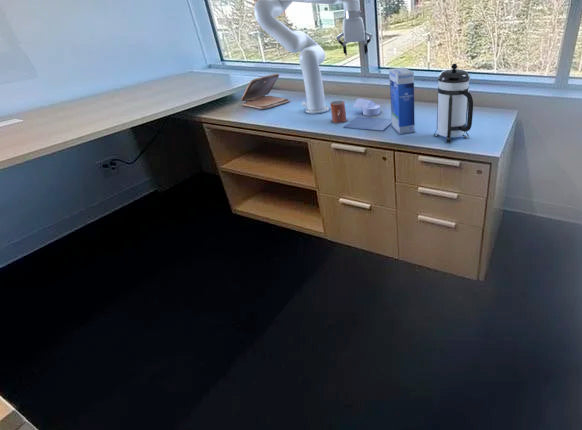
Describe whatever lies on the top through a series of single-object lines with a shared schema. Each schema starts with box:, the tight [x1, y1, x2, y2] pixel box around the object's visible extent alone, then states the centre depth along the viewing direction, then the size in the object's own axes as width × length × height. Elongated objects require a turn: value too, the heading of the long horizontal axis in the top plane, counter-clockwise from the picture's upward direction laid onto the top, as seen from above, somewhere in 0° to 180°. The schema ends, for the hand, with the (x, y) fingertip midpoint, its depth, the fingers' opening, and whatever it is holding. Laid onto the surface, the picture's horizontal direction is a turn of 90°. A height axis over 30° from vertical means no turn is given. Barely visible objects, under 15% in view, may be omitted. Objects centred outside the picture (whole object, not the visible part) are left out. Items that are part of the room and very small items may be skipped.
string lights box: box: [388, 66, 416, 135], centre depth 168 cm, size 13×8×26 cm, turn 17°
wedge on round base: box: [352, 97, 381, 117], centre depth 197 cm, size 9×7×13 cm
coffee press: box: [433, 63, 474, 143], centre depth 155 cm, size 17×16×30 cm
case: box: [240, 73, 290, 110], centre depth 217 cm, size 20×21×16 cm
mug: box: [329, 100, 347, 124], centre depth 186 cm, size 10×7×9 cm
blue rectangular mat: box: [343, 116, 392, 132], centre depth 183 cm, size 20×16×1 cm
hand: (355, 54), depth 186 cm, fingers open, 9 cm apart
